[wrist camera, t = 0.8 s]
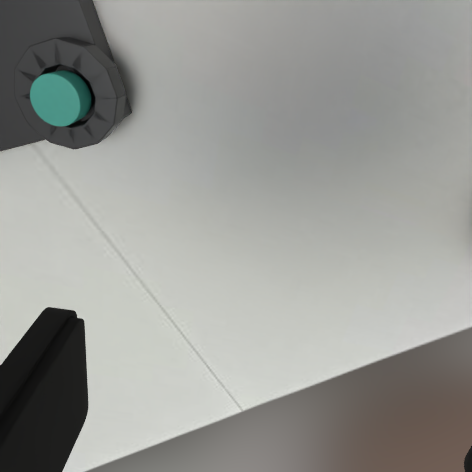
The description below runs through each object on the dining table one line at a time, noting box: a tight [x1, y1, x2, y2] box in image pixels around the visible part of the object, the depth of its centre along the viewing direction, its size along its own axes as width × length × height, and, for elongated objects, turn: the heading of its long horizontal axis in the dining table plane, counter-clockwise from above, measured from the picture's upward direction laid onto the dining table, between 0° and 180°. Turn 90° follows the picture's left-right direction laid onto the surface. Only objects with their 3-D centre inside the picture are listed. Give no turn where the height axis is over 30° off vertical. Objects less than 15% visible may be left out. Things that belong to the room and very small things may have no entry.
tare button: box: [30, 70, 91, 127], centre depth 22 cm, size 3×3×2 cm
